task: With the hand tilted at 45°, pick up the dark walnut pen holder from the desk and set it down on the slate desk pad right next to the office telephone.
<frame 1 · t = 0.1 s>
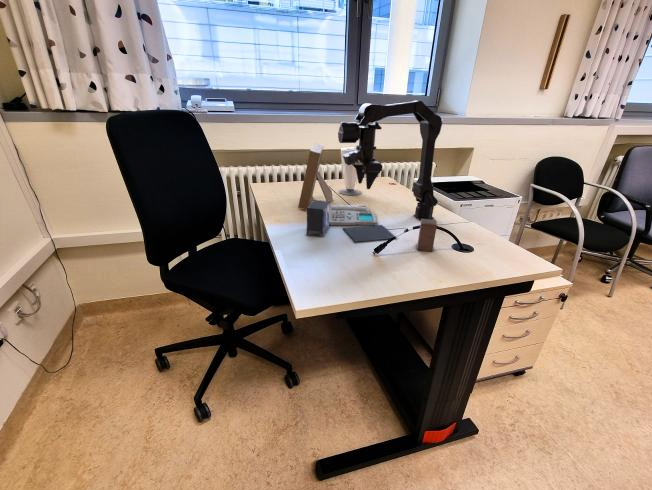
hand: (364, 186, 131), 15 cm above the table, tool pointing down, fingers open, 9 cm apart
office telephone: (351, 217, 144), on the table
pen holder: (424, 248, 117), on the table
desk pad: (368, 233, 127), on the table
photo frame: (316, 203, 160), on the table
small box: (318, 231, 128), on the table
cup: (350, 192, 179), on the table
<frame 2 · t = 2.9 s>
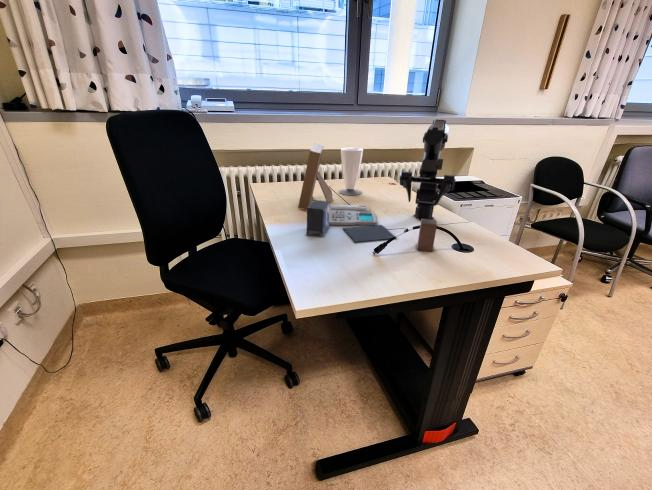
hand: (422, 203, 116), 14 cm above the table, tool tilted 40°, fingers open, 9 cm apart
nothing on the table moved.
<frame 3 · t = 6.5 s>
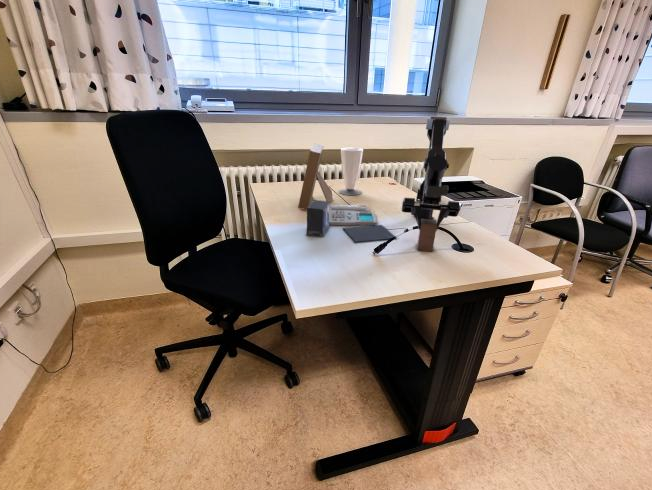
hand: (427, 230, 112), 7 cm above the table, tool tilted 45°, fingers closed on pen holder, 5 cm apart
pen holder: (424, 248, 117), on the table, touching gripper
everything else where it was.
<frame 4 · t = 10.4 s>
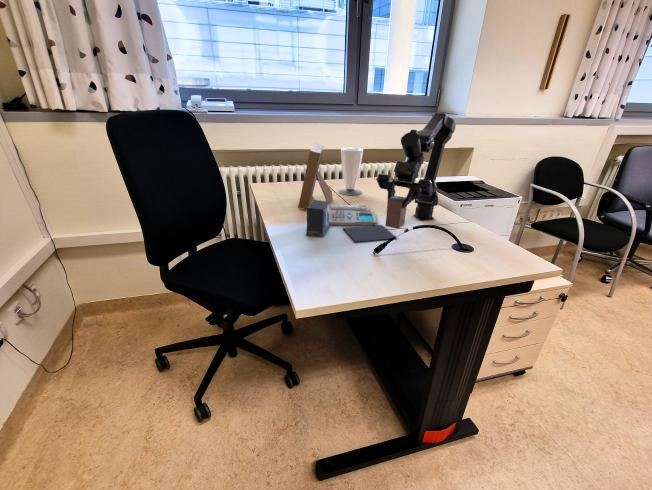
hand: (395, 206, 113), 13 cm above the table, tool tilted 45°, fingers closed on pen holder, 5 cm apart
pen holder: (394, 225, 117), point 6 cm above the table, touching gripper
everything else where it was.
when the fingers open (7 cm above the table, at t = 14.6 s): pen holder stays where it is, resting on desk pad.
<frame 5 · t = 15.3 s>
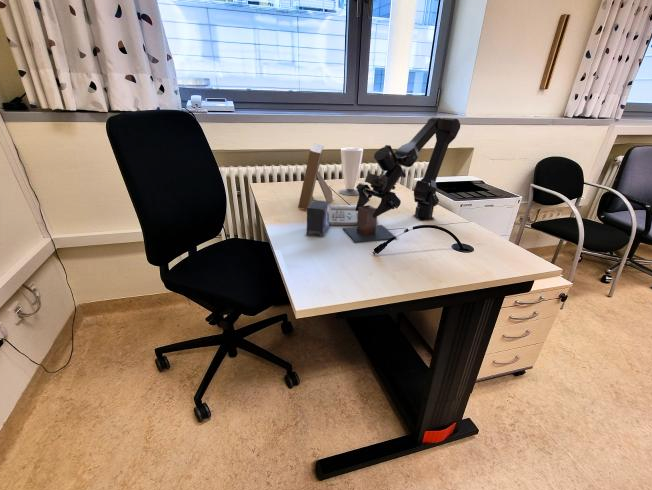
hand: (364, 213, 123), 8 cm above the table, tool tilted 45°, fingers open, 9 cm apart
pen holder: (366, 232, 127), resting on desk pad
everything else where it was.
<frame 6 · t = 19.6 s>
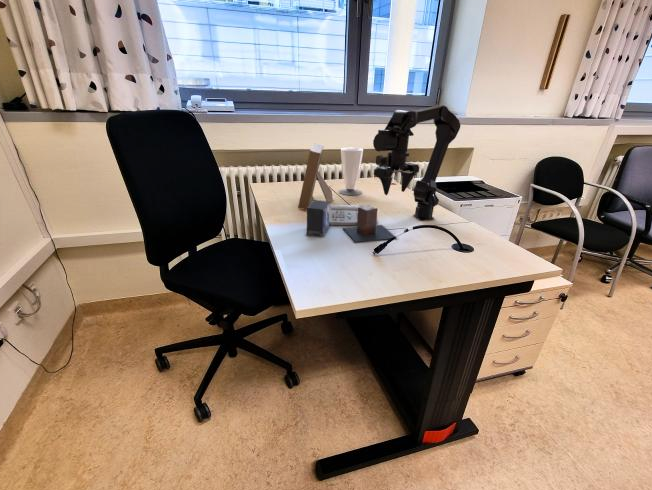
hand: (394, 193, 129), 13 cm above the table, tool pointing down, fingers open, 9 cm apart
nothing on the table moved.
at the end: pen holder inside the target area on the table beside the office telephone (1.0 cm from its centre), point 0.6 cm above the table; pen holder tilted 0°; the gripper is holding nothing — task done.
